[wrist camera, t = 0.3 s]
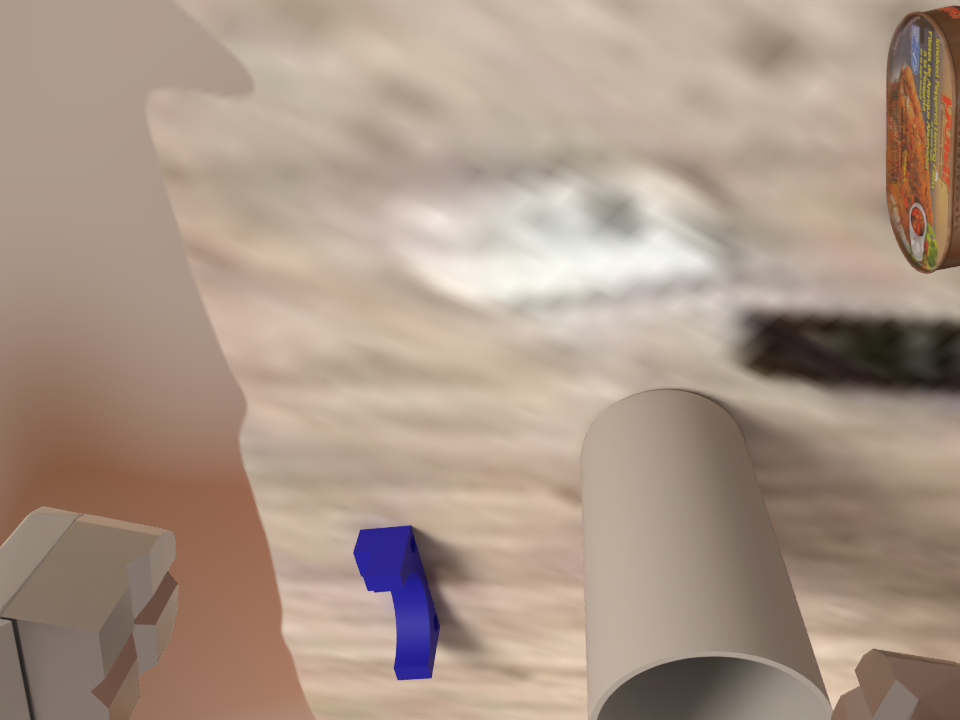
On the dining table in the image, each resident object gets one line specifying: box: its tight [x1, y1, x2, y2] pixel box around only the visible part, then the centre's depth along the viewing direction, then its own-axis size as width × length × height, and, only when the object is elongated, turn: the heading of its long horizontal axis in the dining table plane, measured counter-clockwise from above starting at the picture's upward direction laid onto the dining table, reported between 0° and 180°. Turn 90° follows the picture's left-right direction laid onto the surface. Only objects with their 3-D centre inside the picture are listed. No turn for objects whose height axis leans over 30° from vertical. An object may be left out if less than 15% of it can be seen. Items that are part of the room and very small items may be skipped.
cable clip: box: [353, 525, 440, 680], centre depth 72 cm, size 12×4×6 cm, turn 11°
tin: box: [886, 6, 960, 274], centre depth 48 cm, size 15×3×8 cm, turn 13°
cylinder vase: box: [581, 390, 833, 720], centre depth 54 cm, size 12×12×25 cm
